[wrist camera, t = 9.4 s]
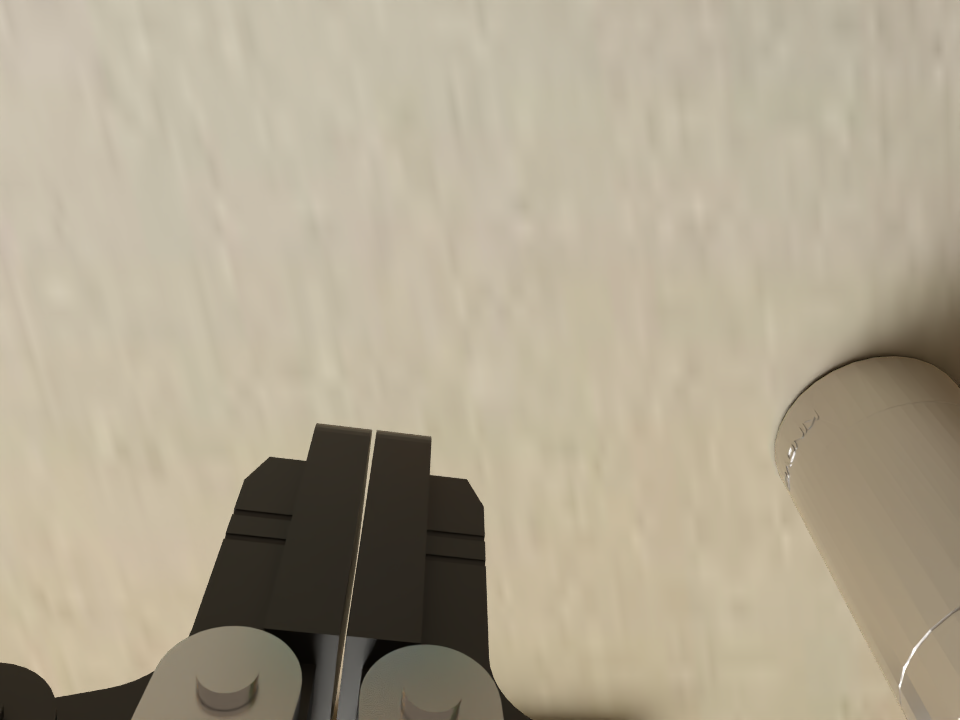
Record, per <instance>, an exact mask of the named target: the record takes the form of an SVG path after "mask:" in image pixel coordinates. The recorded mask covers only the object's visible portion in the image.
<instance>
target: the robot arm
mask: <svg viewBox="0 0 960 720" xmlns="http://www.w3.org/2000/svg"><path fill="white" fill-rule="evenodd" d="M371 436H372V430H369V429H361V428H352V427H344V426H336V425H327V424H319V423H317V424H316V426H315V430H314V434H313V437H312V441H311V445H310V449H309V453H308V457H307V461H301V460H293V459H284V458H275V457H269V458H268V459H267V460H266V461H265V462H264V463H262V464H261V465H260V466H259V467H258V468H257V469H256V470H255V471H254V472H253V473H251V474H250V475H249V476H248V477H247V478H246V479H245V480H244V482H243V485H242V488H241V491H240V494H239V497H238V500H237V502H236V505H235V508H234V514H232V517H231V520H230V522H229V525H228V528H227V531H226V536H225V539H223V542H222V545H221V548H220V551H219V554H218V557H217V559H216V562H215V565H214V568H213V571H212V574H211V577H210V579H209V582H208V585H207V588H206V591H205V594H204V597H203V599H202V602H201V605H200V608H199V611H198V614H197V616H196V619H195V622H194V625H193V628H192V630H191V633H190V635H189V637H188V638H186V639H184V640H183V641H181V642H179V643H178V644H177V645H175V646H174V647H173V648H172V649H171V650H169V651H168V652H167V654H166V655H165V656H164V657H163V658H162V659H161V661H160V662H159V664H158V666H157V667H156V669H155V671H153V672H152V673H150V674H148V675H146V676H144V677H142V678H140V679H138V680H135V681H133V682H130V683H127V684H124V685H121V686H116V687H112V688H108V689H102V690H97V691H91V692H85V693H79V694H74V695H68V696H62V697H57V698H55V697H54V695H53V692H52V690H51V688H50V687H49V685H48V684H47V683H46V681H45V680H44V679H43V678H41V677H40V676H39V675H38V674H36V673H35V672H33V671H31V670H29V669H27V668H24V667H21V666H17V665H14V664H7V663H0V720H333V714H334V707H335V701H336V694H337V687H338V681H339V674H340V667H341V661H342V654H343V647H344V640H345V634H346V627H347V620H348V614H349V607H350V600H351V594H352V587H353V580H354V574H355V567H356V560H357V552H358V545H359V537H360V529H361V521H362V513H363V504H364V496H365V487H366V479H367V470H368V462H369V453H370V445H371ZM430 458H431V437H430V436H421V435H413V434H404V433H396V432H388V431H379V430H377V433H376V439H375V446H374V453H373V459H372V466H371V473H370V480H369V486H368V493H367V500H366V507H365V513H364V520H363V527H362V534H361V540H360V547H359V554H358V561H357V568H356V574H355V581H354V588H353V595H352V601H351V608H350V615H349V622H348V628H347V635H346V643H345V652H344V661H343V669H342V678H341V686H340V695H339V704H338V712H337V720H532V719H530V718H529V717H527V716H525V715H524V714H523V713H521V712H520V711H519V710H518V709H517V708H515V707H514V706H513V705H512V704H511V703H510V702H509V701H508V700H507V698H506V697H505V696H504V695H503V693H502V692H501V690H500V689H499V688H498V686H497V684H496V682H495V680H494V678H493V675H492V671H491V668H490V662H489V645H488V616H487V588H486V566H485V542H484V537H485V531H484V506H483V505H482V503H481V502H480V500H479V498H478V497H477V495H476V493H475V492H474V490H473V489H472V487H471V485H470V484H469V482H468V480H467V479H459V478H451V477H442V476H433V475H430ZM775 462H776V465H777V469H778V472H779V475H780V477H781V479H782V481H783V483H784V485H785V487H786V489H787V491H788V492H789V494H790V496H791V498H792V500H793V502H794V504H795V506H796V508H797V510H798V512H799V513H800V515H801V517H802V519H803V521H804V523H805V525H806V528H807V529H808V531H809V533H810V535H811V537H812V539H813V541H814V543H815V545H816V547H817V549H818V551H819V552H820V554H821V556H822V558H823V560H824V562H825V564H826V566H827V568H828V570H829V572H830V573H831V575H832V577H833V579H834V581H835V583H836V585H837V587H838V589H839V591H840V593H841V595H842V596H843V598H844V600H845V602H846V604H847V606H848V608H849V610H850V612H851V614H852V616H853V618H854V619H855V621H856V623H857V625H858V627H859V629H860V631H861V633H862V635H863V637H864V639H865V640H866V642H867V644H868V646H869V648H870V650H871V652H872V654H873V656H874V658H875V660H876V662H877V663H878V665H879V667H880V669H881V671H882V673H883V675H884V677H885V679H886V681H887V683H888V684H889V686H890V688H891V690H892V692H893V694H894V696H895V698H896V700H897V702H898V704H899V706H900V707H901V709H902V711H903V713H904V715H905V717H906V719H907V720H960V388H959V387H958V385H957V384H956V383H955V382H954V381H953V380H952V379H951V378H950V377H949V376H948V375H947V374H946V373H944V372H943V371H941V370H940V369H938V368H937V367H935V366H934V365H932V364H929V363H927V362H924V361H921V360H918V359H915V358H908V357H899V356H888V357H874V358H870V359H866V360H862V361H857V362H853V363H851V364H849V365H846V366H844V367H842V368H839V369H837V370H834V371H832V372H831V373H829V374H828V375H826V376H824V377H823V378H821V379H820V380H818V381H817V382H815V383H814V384H813V385H812V386H810V387H809V388H808V389H807V390H806V391H805V392H804V393H803V394H801V395H800V396H799V397H798V399H797V400H796V401H795V403H794V404H793V405H792V406H791V408H790V409H789V410H788V411H787V413H786V415H785V417H784V419H783V421H782V423H781V425H780V427H779V430H778V434H777V438H776V442H775Z"/></svg>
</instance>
